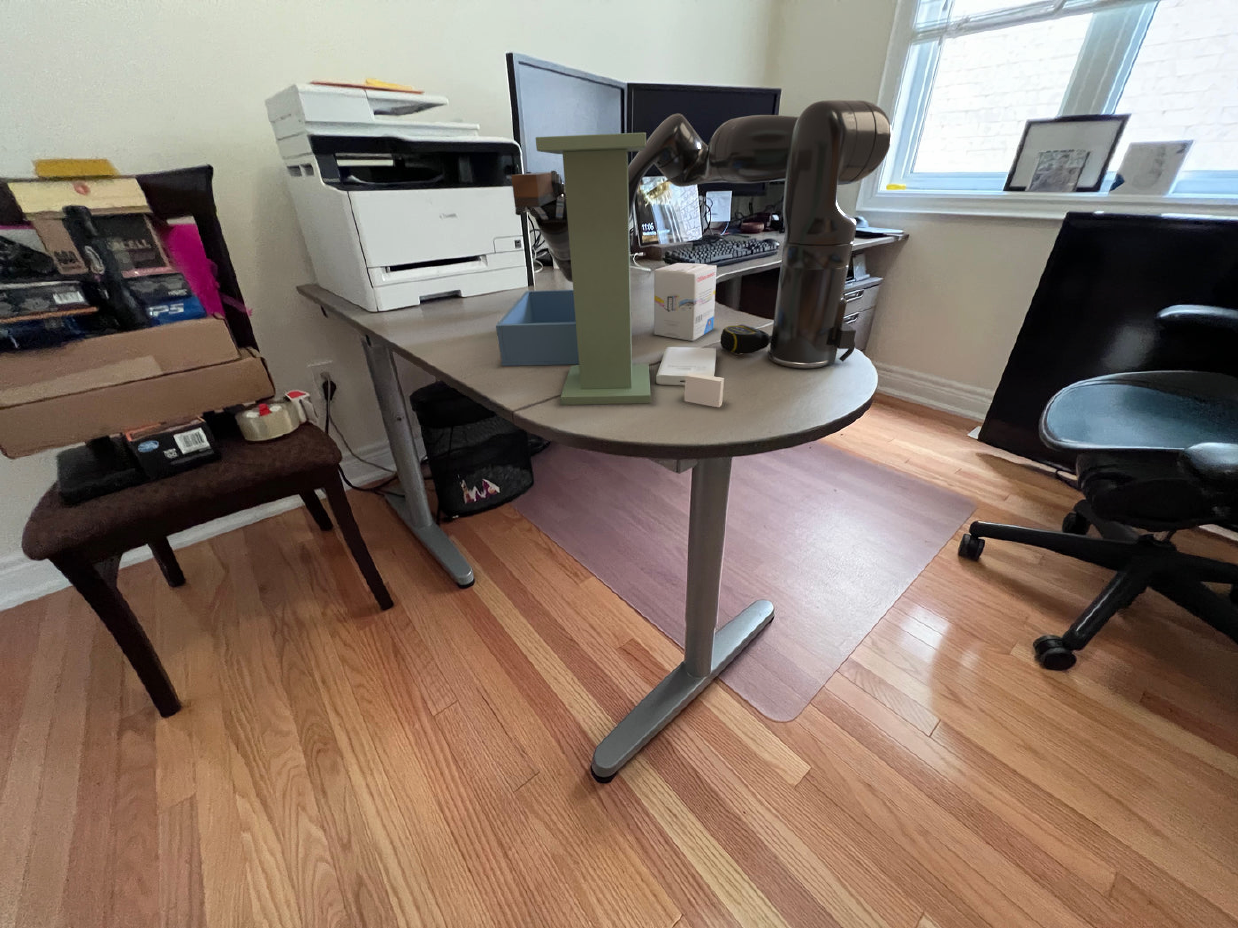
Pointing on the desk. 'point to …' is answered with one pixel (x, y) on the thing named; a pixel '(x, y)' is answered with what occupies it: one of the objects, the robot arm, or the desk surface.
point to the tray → (539, 330)
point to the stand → (600, 267)
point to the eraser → (704, 389)
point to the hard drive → (685, 364)
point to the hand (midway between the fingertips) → (540, 177)
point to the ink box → (684, 300)
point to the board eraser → (532, 189)
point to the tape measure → (743, 339)
